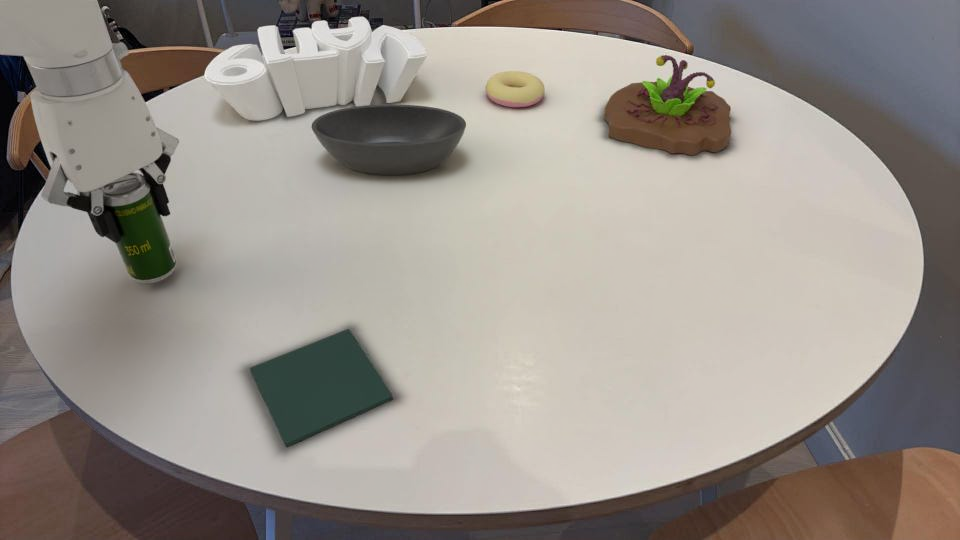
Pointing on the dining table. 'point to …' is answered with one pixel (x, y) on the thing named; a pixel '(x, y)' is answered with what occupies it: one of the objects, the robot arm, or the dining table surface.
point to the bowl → (390, 137)
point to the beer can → (139, 229)
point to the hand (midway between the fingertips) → (136, 223)
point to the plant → (670, 114)
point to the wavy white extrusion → (316, 69)
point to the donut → (515, 89)
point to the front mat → (319, 386)
